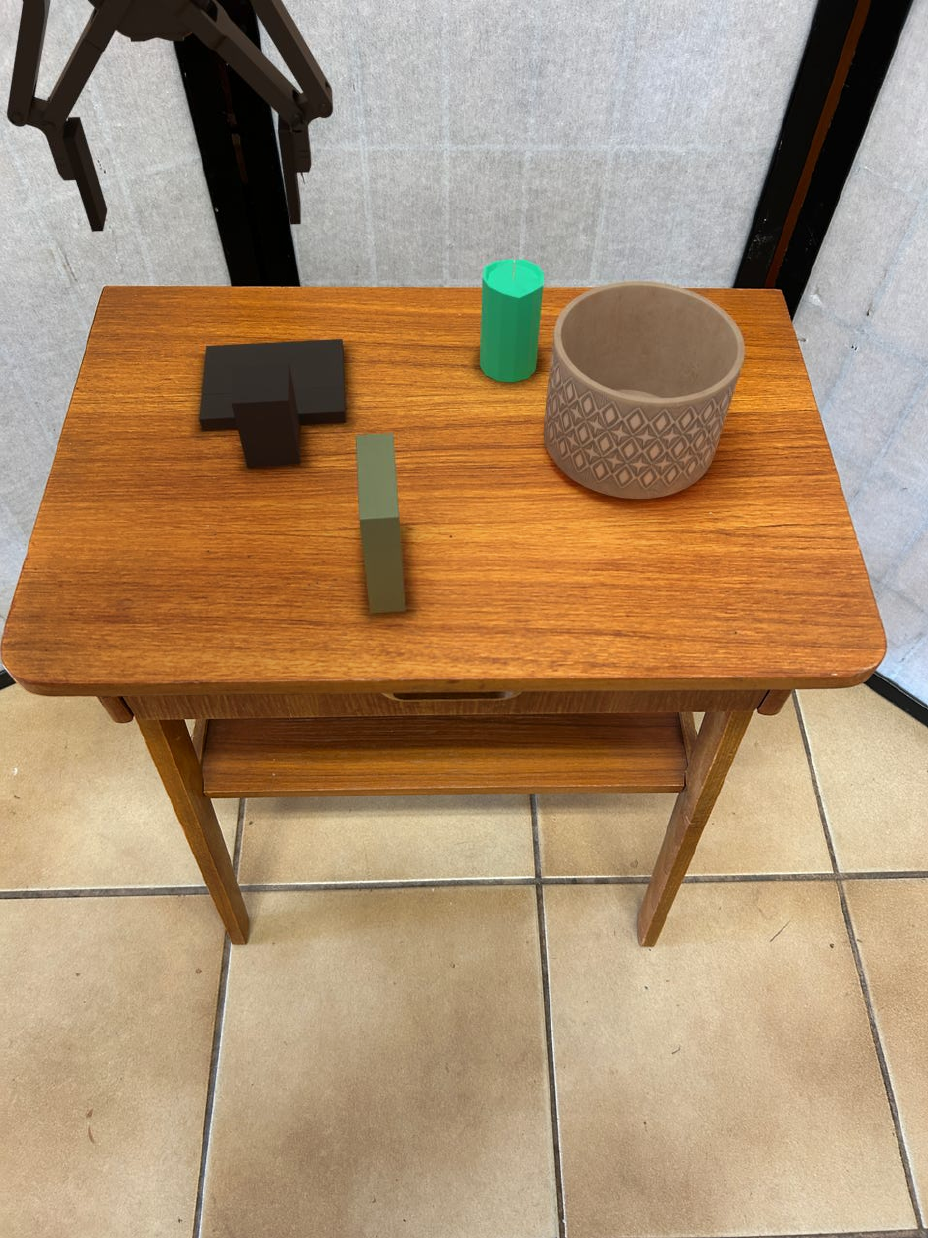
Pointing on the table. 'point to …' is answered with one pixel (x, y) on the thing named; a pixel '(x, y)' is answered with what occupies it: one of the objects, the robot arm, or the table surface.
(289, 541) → the table surface
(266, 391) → the black rectangular block
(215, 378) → the pad
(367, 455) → the stand
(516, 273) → the candle
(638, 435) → the planter
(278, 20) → the robot arm
